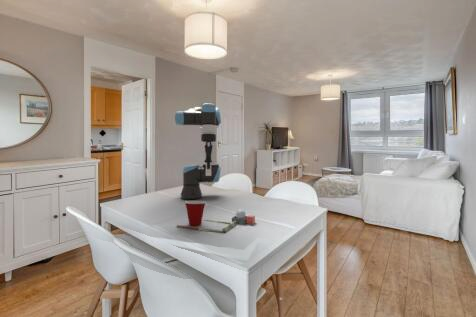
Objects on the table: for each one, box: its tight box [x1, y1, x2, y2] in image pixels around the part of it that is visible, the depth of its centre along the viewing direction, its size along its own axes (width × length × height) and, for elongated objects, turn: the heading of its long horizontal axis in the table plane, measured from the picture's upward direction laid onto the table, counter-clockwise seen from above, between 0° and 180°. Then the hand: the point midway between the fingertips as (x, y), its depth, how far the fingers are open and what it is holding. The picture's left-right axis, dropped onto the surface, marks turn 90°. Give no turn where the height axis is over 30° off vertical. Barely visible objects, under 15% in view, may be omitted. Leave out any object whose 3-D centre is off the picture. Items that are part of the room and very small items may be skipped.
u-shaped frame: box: [175, 219, 237, 234], centre depth 121 cm, size 15×25×2 cm, turn 69°
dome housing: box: [231, 214, 256, 227], centre depth 126 cm, size 7×11×4 cm, turn 69°
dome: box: [235, 209, 246, 219], centre depth 127 cm, size 5×5×5 cm
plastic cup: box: [184, 200, 207, 227], centre depth 123 cm, size 11×11×12 cm
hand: (208, 175), depth 126 cm, fingers open, 13 cm apart
